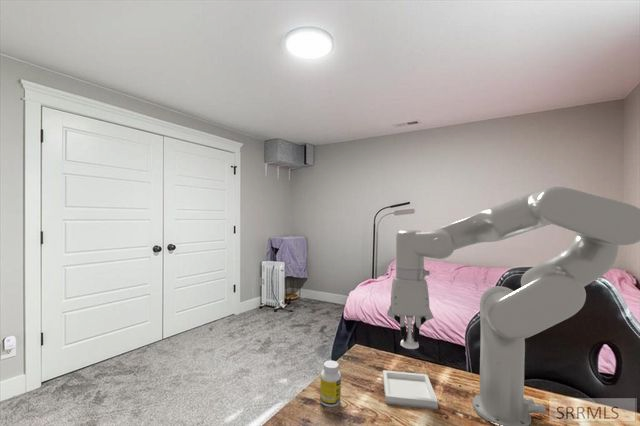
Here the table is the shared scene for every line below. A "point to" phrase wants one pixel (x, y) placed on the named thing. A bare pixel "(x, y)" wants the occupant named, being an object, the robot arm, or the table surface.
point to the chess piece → (409, 336)
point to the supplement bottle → (330, 384)
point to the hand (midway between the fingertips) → (409, 339)
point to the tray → (409, 390)
